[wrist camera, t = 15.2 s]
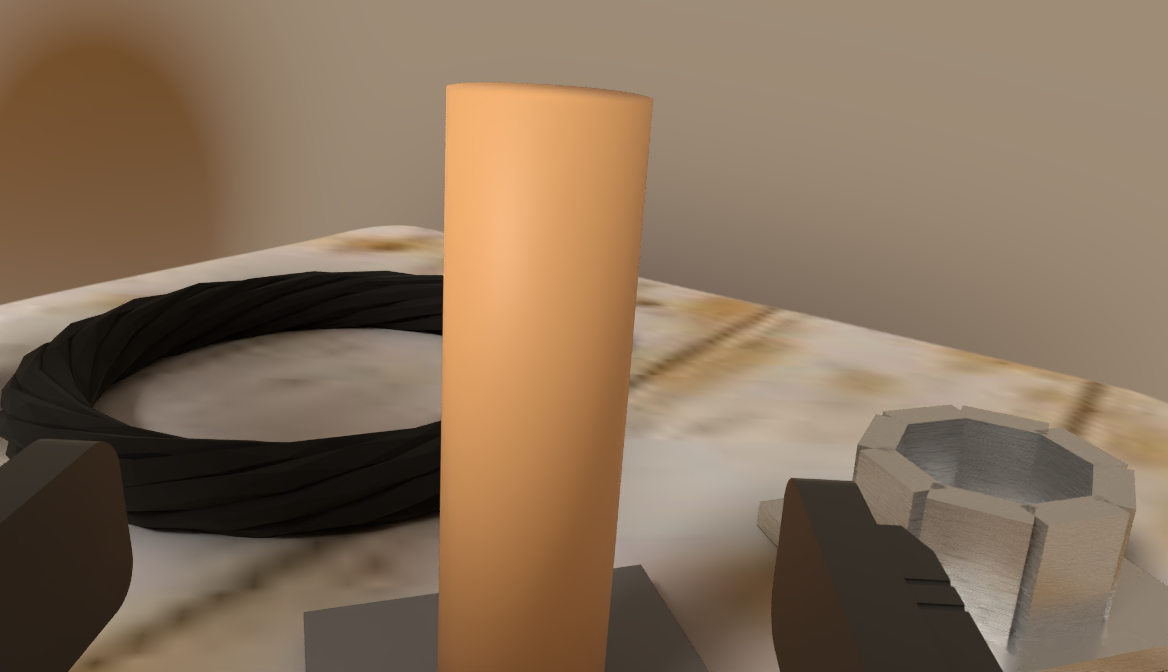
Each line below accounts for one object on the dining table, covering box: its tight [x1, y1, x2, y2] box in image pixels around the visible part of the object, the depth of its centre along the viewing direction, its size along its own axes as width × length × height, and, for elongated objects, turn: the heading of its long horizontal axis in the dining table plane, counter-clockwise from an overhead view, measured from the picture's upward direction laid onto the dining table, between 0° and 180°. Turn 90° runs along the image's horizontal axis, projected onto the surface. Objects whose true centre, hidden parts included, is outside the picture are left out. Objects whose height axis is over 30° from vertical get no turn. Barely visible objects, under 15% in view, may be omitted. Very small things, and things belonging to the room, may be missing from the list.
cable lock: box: [0, 271, 444, 538], centre depth 47 cm, size 28×4×30 cm
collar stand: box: [757, 405, 1168, 672], centre depth 33 cm, size 11×11×5 cm
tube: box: [438, 82, 653, 672], centre depth 23 cm, size 4×4×16 cm
